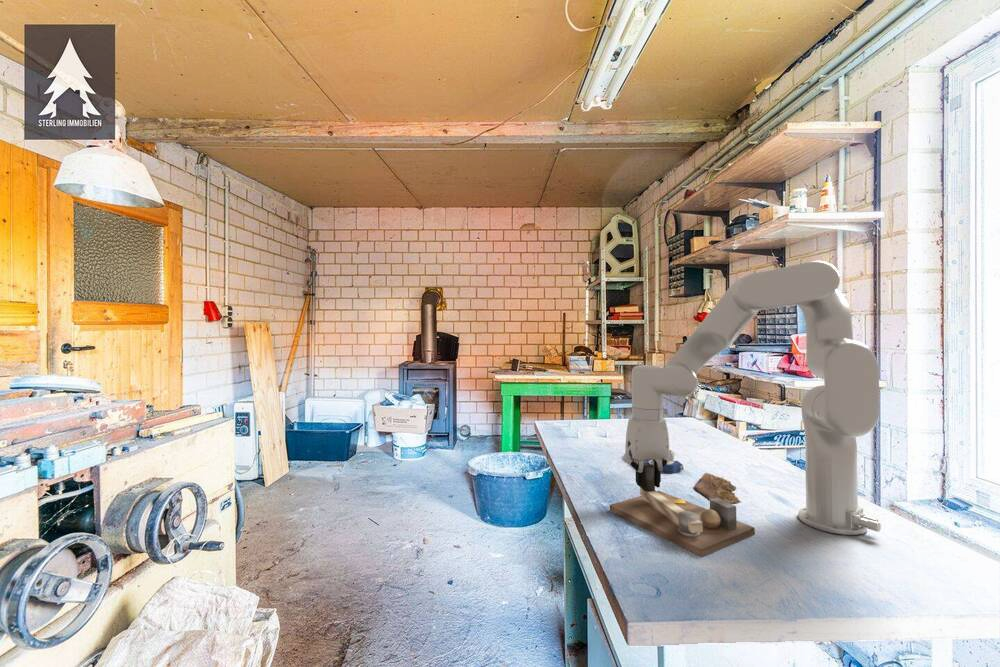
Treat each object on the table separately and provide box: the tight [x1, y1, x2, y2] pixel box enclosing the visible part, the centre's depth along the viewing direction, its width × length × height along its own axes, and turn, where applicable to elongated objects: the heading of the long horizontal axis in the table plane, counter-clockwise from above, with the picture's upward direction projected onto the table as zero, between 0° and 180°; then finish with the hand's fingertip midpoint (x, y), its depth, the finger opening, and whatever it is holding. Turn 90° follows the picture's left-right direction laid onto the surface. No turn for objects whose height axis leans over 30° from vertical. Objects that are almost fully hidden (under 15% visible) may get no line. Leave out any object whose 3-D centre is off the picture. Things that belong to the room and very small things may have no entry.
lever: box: [639, 464, 703, 533], centre depth 102 cm, size 22×4×8 cm, turn 10°
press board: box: [609, 490, 756, 558], centre depth 103 cm, size 26×18×6 cm
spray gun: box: [630, 449, 685, 474], centre depth 147 cm, size 21×4×15 cm
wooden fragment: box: [693, 472, 742, 505], centre depth 124 cm, size 26×11×1 cm, turn 158°
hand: (648, 485), depth 111 cm, fingers closed on lever, 3 cm apart
